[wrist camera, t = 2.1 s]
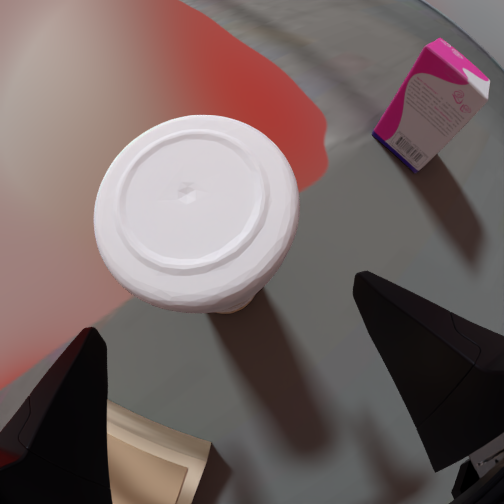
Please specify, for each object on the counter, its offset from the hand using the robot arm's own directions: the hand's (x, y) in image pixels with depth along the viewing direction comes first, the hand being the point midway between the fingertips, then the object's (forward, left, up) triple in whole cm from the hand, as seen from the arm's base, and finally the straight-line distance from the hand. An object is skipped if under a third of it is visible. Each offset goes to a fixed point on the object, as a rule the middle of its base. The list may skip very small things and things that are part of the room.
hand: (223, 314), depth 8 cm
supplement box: (+20, -11, -10) cm, 25 cm away
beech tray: (-15, +4, -10) cm, 18 cm away
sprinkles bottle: (+2, +1, -10) cm, 10 cm away
